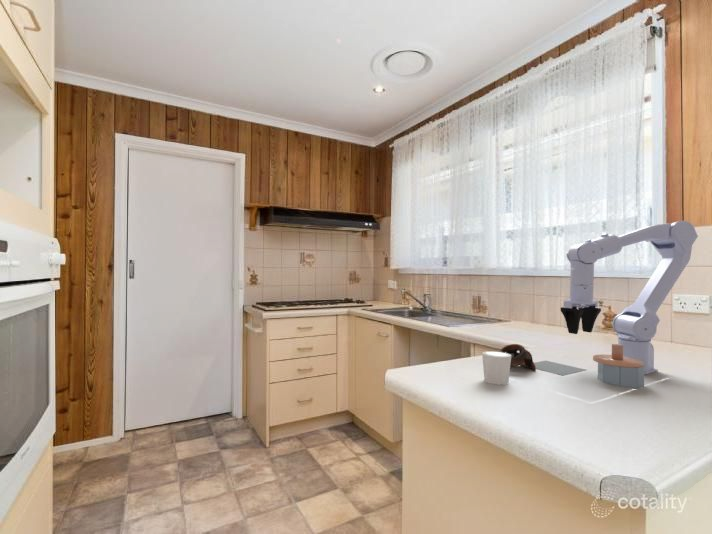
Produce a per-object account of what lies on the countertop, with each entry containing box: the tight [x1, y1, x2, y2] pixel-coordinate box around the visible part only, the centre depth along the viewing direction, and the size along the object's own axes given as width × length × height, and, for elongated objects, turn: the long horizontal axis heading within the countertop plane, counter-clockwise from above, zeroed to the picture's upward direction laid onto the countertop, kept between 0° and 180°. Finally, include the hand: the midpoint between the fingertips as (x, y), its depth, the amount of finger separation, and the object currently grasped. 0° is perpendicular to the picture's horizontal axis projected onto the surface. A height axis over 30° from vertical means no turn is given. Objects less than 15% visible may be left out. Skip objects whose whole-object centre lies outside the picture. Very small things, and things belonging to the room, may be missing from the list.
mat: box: [534, 360, 587, 376], centre depth 106 cm, size 12×12×1 cm
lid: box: [592, 343, 643, 368], centre depth 94 cm, size 10×10×4 cm
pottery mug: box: [498, 343, 537, 372], centre depth 105 cm, size 12×10×8 cm
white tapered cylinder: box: [481, 350, 511, 385], centre depth 93 cm, size 7×7×7 cm
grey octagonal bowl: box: [597, 362, 645, 390], centre depth 93 cm, size 9×9×5 cm
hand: (580, 332), depth 106 cm, fingers open, 7 cm apart
